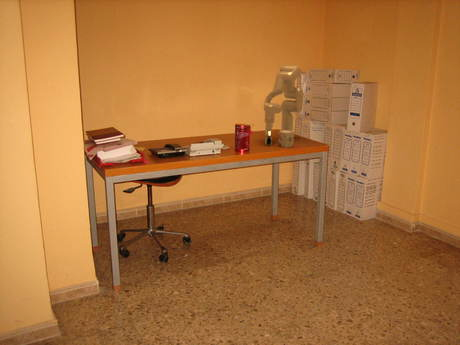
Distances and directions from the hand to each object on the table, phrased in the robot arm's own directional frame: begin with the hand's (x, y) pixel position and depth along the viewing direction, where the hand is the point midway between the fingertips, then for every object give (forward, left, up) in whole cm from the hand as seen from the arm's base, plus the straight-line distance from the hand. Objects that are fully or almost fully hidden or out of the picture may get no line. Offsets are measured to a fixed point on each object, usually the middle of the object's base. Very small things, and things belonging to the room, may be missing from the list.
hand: (268, 143), depth 342 cm
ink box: (+6, +13, -1) cm, 14 cm away
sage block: (0, 0, -1) cm, 1 cm away
